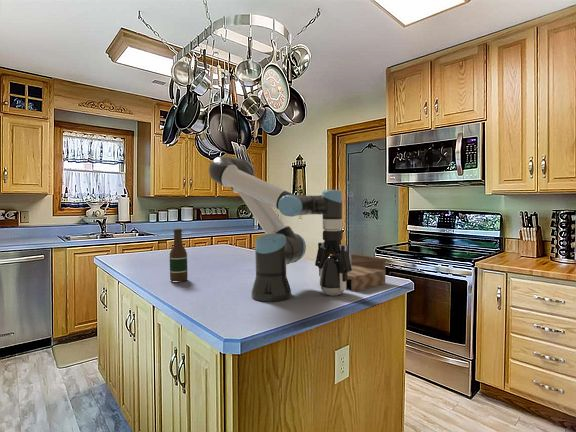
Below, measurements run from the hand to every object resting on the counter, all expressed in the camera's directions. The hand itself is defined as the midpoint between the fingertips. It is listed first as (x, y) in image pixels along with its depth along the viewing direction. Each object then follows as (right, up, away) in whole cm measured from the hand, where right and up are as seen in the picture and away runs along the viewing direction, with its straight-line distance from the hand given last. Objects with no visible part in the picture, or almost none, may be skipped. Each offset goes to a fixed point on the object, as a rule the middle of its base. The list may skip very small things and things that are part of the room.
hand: (332, 287), depth 138 cm
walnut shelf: (+11, -2, +17) cm, 20 cm away
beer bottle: (-68, -3, +27) cm, 73 cm away
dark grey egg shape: (0, -3, 0) cm, 3 cm away
